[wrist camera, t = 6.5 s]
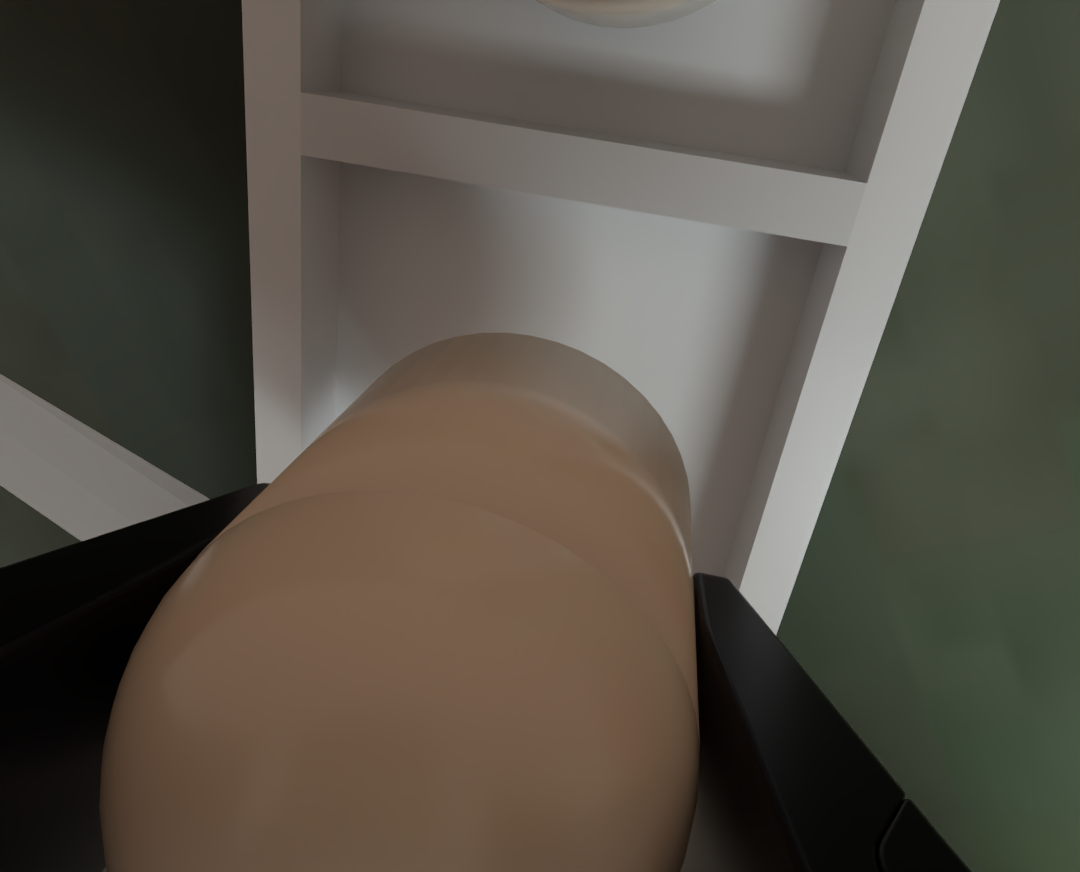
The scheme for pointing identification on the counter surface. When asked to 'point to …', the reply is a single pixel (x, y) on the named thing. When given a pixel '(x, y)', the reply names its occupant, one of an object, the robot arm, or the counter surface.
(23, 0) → the counter surface
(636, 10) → the cream egg
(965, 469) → the counter surface
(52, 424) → the chef's knife
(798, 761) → the robot arm
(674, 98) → the egg carton
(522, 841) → the tan egg
